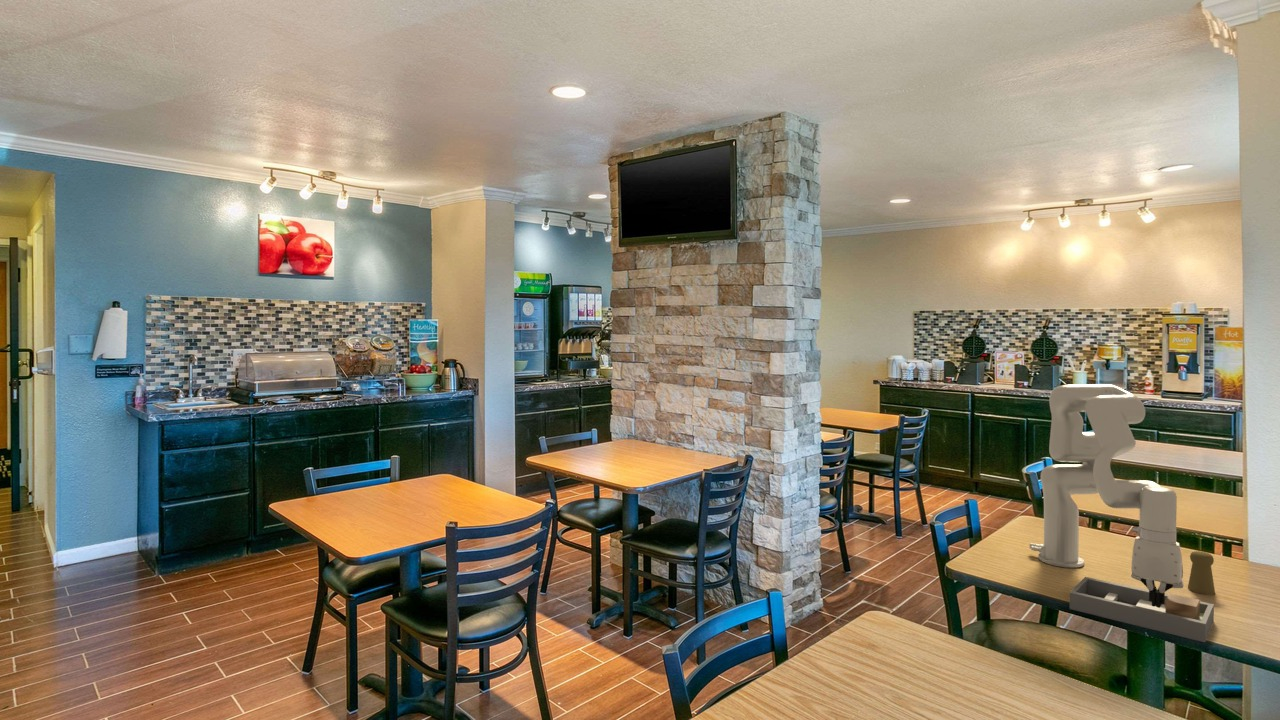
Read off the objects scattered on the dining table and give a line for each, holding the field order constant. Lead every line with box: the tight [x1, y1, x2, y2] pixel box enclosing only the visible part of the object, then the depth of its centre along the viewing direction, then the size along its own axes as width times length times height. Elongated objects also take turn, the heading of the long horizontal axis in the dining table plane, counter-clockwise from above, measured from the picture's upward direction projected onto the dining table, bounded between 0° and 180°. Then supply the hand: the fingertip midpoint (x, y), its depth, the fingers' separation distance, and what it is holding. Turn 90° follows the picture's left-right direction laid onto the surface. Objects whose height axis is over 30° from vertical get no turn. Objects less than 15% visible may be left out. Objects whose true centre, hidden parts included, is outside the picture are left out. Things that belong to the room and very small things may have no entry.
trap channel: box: [1069, 576, 1215, 643], centre depth 174 cm, size 28×16×4 cm, turn 44°
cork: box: [1187, 550, 1216, 596], centre depth 189 cm, size 6×6×11 cm
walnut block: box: [1165, 593, 1201, 620], centre depth 168 cm, size 6×6×4 cm
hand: (1156, 605), depth 171 cm, fingers closed
